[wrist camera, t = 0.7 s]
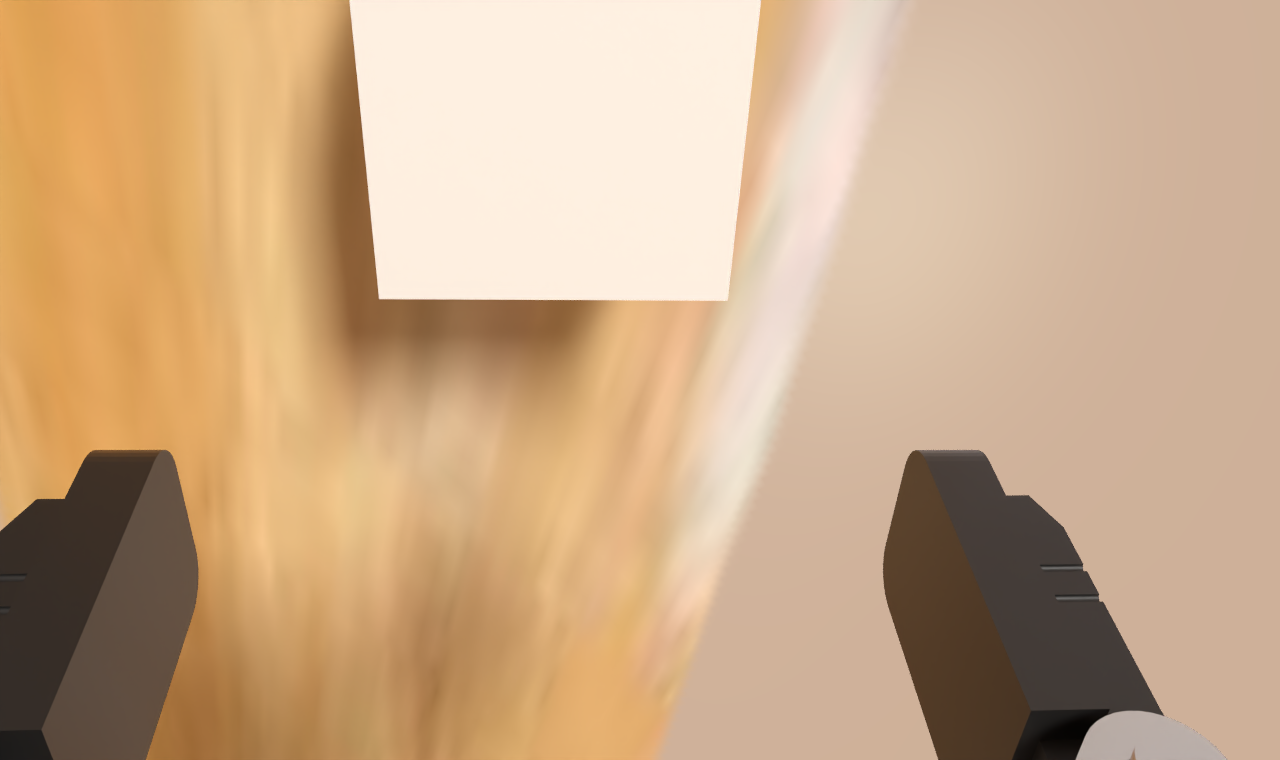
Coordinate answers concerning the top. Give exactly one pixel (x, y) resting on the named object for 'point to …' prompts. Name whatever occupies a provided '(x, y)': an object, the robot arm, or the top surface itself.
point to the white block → (554, 145)
